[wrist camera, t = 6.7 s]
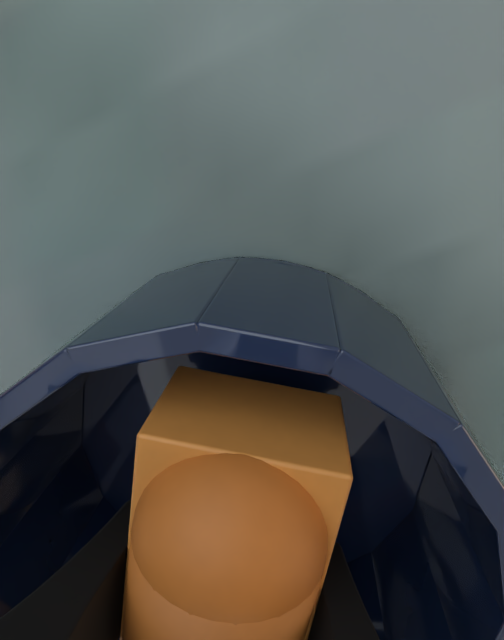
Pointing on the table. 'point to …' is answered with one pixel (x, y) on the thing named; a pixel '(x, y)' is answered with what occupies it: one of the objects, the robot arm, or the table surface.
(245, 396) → the bread
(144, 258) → the table surface
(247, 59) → the table surface
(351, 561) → the pot
